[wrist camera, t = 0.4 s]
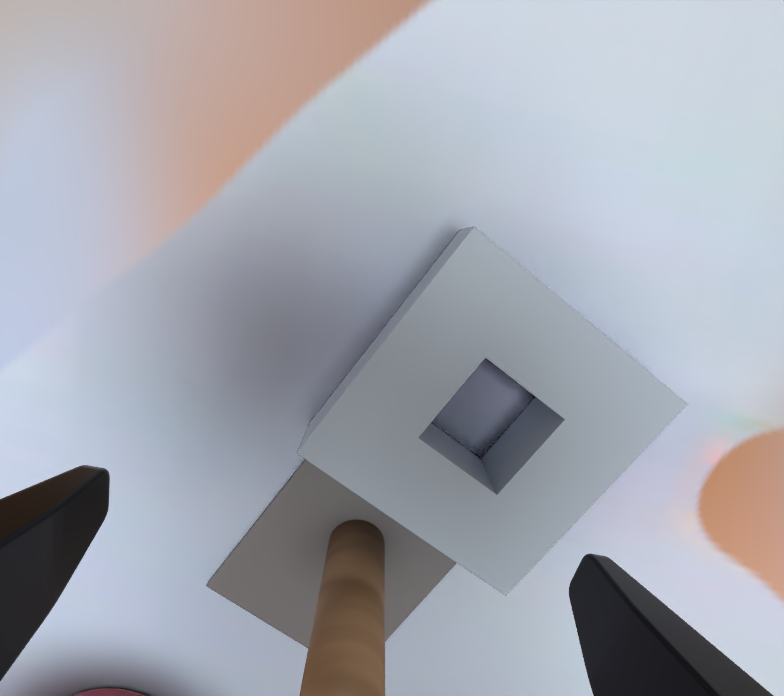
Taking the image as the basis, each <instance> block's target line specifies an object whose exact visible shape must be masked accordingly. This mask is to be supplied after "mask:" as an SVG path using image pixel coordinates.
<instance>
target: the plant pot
mask: <svg viewBox="0 0 784 696" xmlns="http://www.w3.org/2000/svg"><path fill="white" fill-rule="evenodd" d="M73 696H145V695H142V694H140V693H136V692H133V691H129V690H124V689H110V688H103V689H94V690H88V691H84V692H80V693H77V694H75V695H73Z"/></svg>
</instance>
